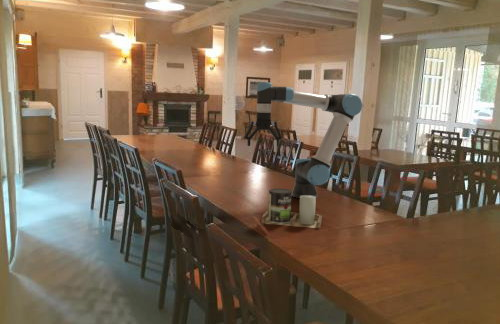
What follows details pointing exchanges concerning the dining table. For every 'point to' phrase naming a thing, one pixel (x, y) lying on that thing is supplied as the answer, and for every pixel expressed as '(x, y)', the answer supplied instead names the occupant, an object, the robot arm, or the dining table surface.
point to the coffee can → (280, 206)
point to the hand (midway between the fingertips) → (262, 152)
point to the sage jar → (307, 209)
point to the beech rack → (293, 220)
